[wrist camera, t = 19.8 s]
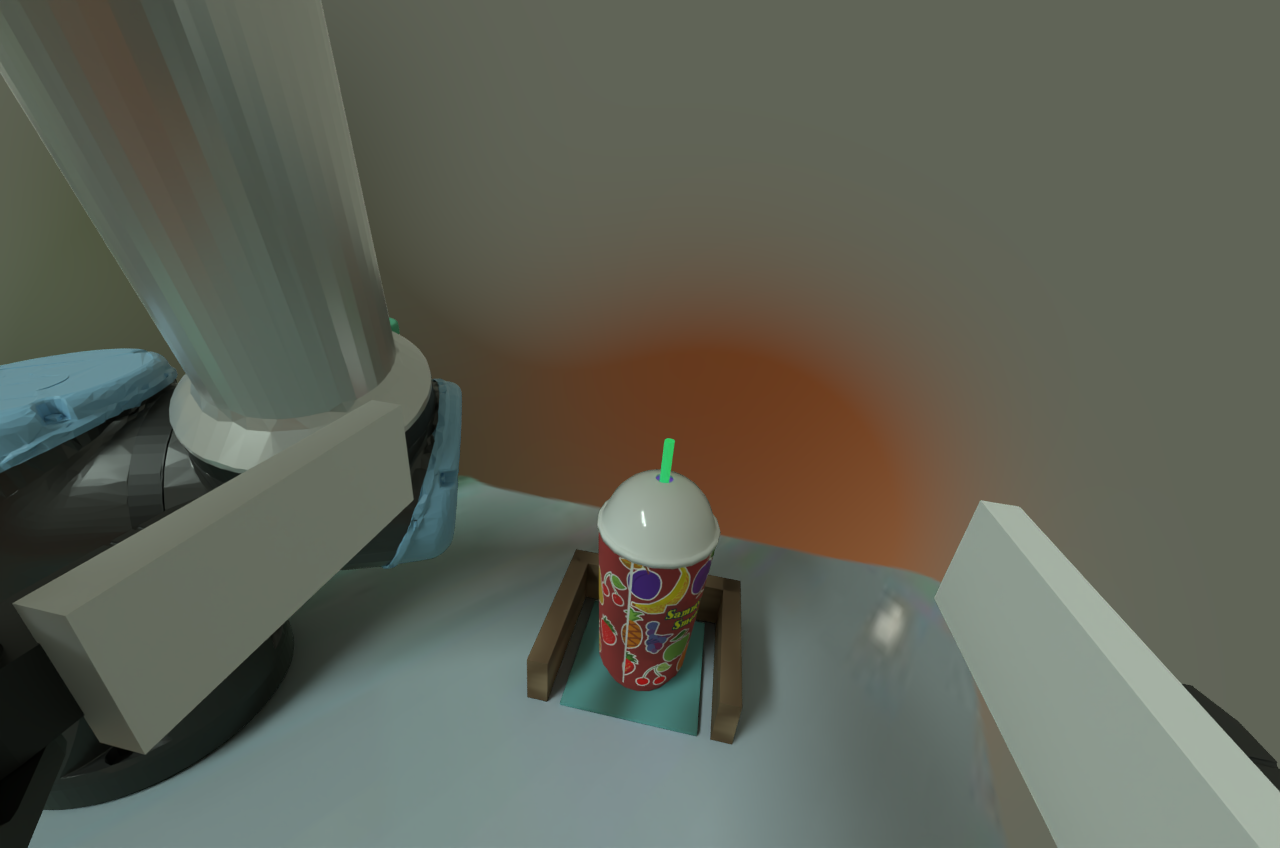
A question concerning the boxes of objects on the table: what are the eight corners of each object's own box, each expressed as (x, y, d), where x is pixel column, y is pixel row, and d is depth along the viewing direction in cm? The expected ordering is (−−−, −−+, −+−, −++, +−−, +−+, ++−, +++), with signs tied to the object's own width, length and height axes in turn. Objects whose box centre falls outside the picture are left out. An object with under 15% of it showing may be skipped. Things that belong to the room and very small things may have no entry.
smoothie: (680, 725, 35) (728, 490, 26) (571, 689, 37) (583, 457, 28) (699, 634, 42) (741, 426, 34) (607, 607, 44) (625, 403, 35)
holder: (527, 697, 36) (527, 659, 34) (574, 582, 47) (576, 549, 45) (731, 744, 34) (742, 707, 33) (732, 613, 45) (740, 580, 43)
